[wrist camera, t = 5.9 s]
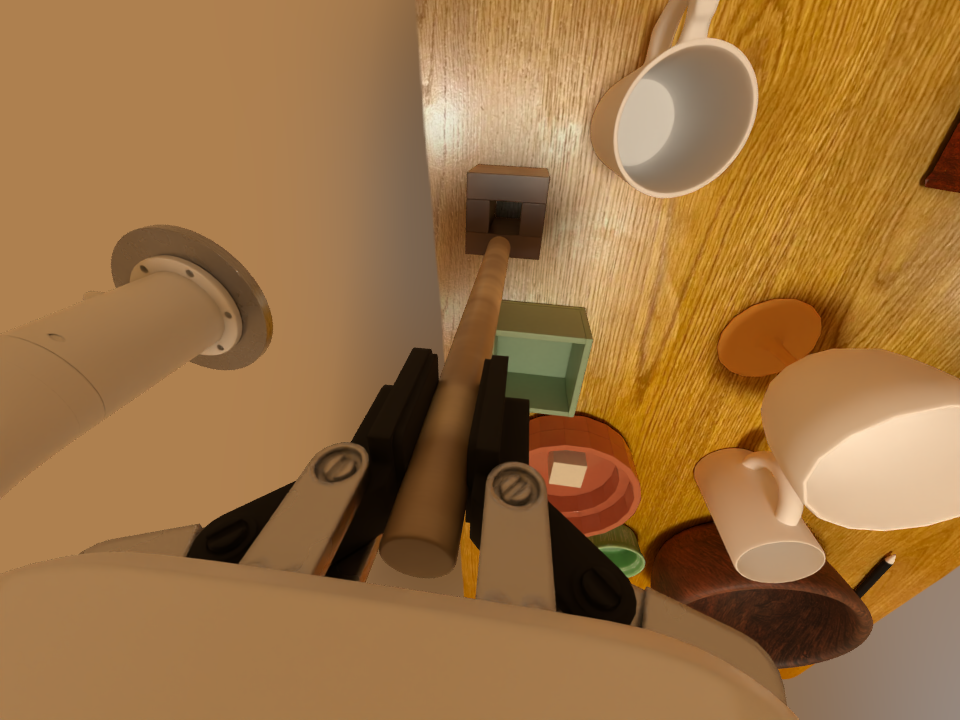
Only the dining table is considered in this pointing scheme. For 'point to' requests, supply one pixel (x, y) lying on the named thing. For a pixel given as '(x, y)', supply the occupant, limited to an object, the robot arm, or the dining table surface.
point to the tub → (544, 354)
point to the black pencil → (875, 575)
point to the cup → (851, 421)
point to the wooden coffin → (947, 167)
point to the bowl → (587, 471)
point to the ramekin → (621, 549)
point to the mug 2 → (758, 516)
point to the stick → (447, 438)
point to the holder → (512, 187)
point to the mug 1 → (678, 108)
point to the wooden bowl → (763, 600)
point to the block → (566, 468)
